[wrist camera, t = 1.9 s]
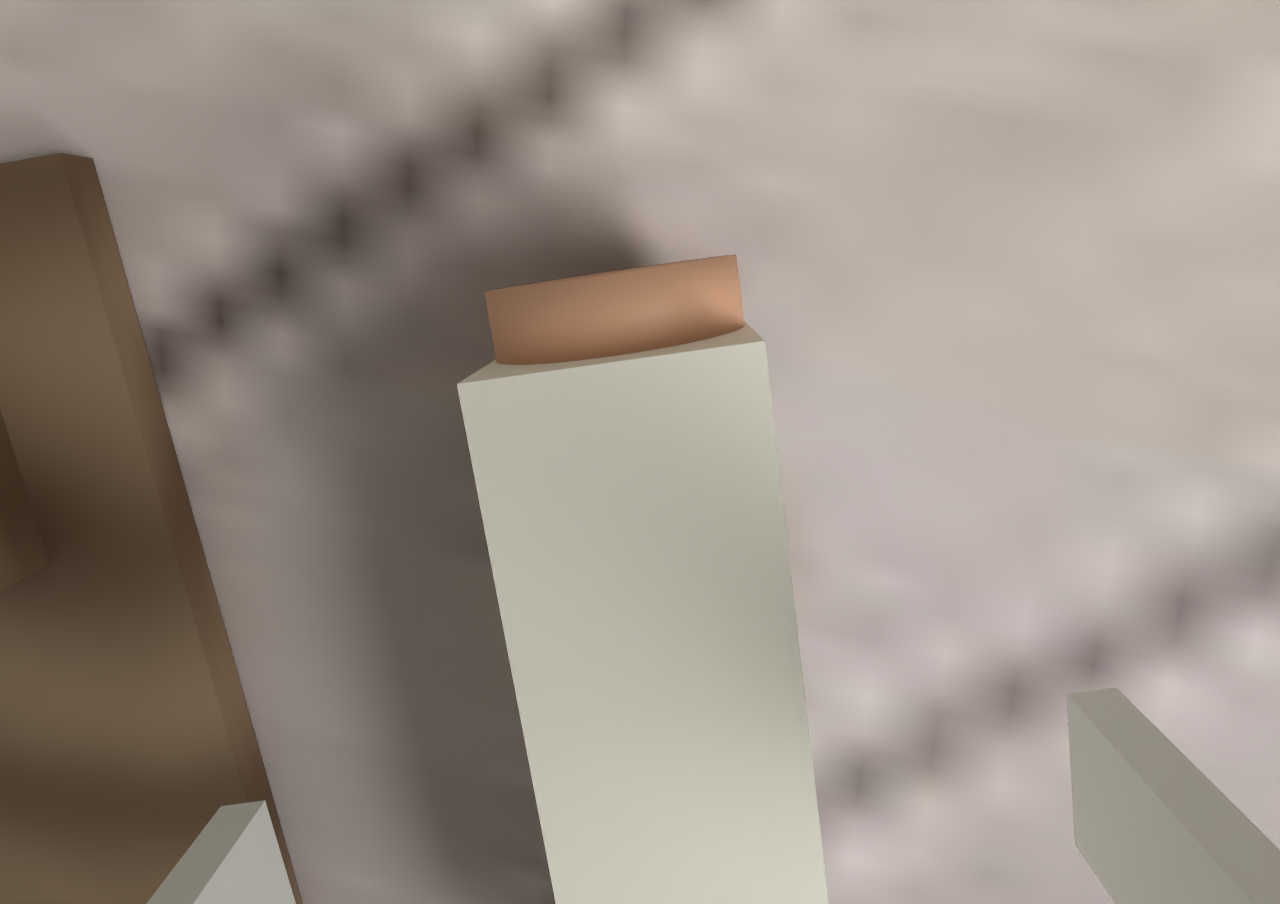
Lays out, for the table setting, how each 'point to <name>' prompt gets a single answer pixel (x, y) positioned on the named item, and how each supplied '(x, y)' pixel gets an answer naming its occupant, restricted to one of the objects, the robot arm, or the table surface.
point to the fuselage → (647, 587)
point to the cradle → (99, 578)
